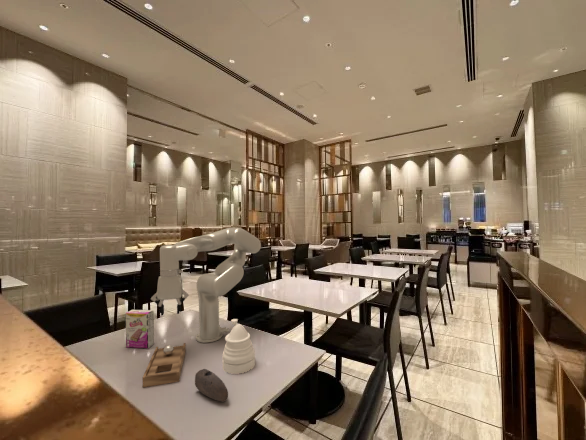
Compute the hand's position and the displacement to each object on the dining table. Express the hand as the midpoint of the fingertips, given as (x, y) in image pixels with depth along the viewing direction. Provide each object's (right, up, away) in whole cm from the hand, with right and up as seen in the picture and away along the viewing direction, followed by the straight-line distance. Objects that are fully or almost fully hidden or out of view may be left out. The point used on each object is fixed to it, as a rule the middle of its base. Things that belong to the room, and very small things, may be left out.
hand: (170, 313), depth 122 cm
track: (+3, -18, -11) cm, 21 cm away
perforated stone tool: (+27, -18, -29) cm, 44 cm away
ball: (+2, -13, -6) cm, 15 cm away
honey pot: (+32, -18, -10) cm, 38 cm away
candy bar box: (-17, -18, +7) cm, 26 cm away
